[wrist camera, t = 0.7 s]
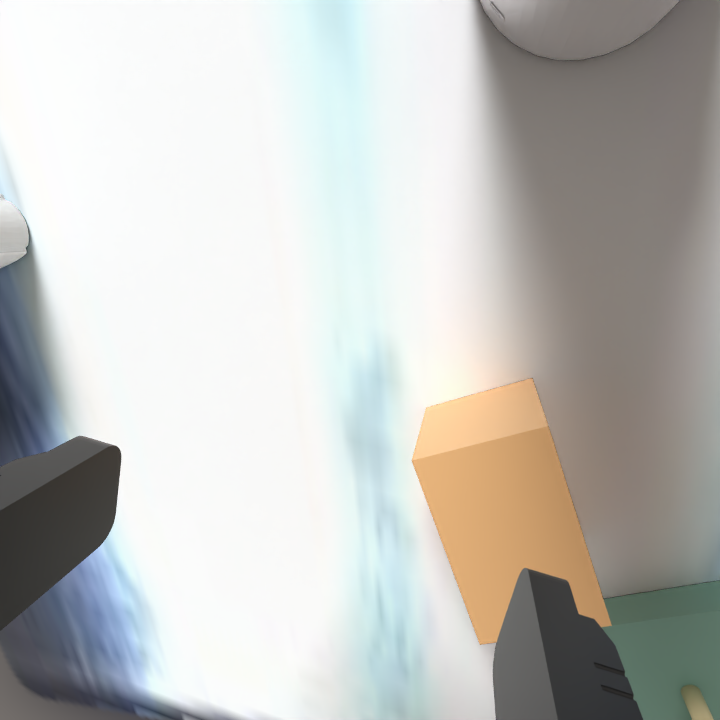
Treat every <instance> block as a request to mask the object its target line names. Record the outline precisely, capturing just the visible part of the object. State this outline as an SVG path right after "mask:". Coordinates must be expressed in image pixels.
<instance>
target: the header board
mask: <svg viewBox="0 0 720 720" xmlns="http://www.w3.org/2000/svg"><path fill="white" fill-rule="evenodd" d="M604 603H605V606H606V609H607V612H608V615H609V618H610V621H611V625H612V626H606V627H601V628H602V629H603V630H604V632H605V633H606V634H607V635H608V637H609V638H610V639H611V640H612V642H613V643H614V644H615V646H616V649H617V651H618V654H619V657H620V659H621V662H622V664H623V667H624V670H625V677H627V678H628V680H629V683H630V686H631V688H632V691H633V694H634V697H633V699H634V700H635V701H636V702H637V704H638V707H639V710H640V712H641V715H642V718H643V720H720V581H714V582H708V583H701V584H695V585H689V586H682V587H676V588H670V589H663V590H657V591H651V592H644V593H638V594H632V595H625V596H619V597H613V598H606V599H604Z"/></svg>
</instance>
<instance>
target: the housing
mask: <svg viewBox="0 0 720 720" xmlns="http://www.w3.org/2000/svg"><path fill="white" fill-rule="evenodd" d="M412 463H413V465H414V468H415V471H416V473H417V476H418V479H419V482H420V484H421V487H422V490H423V492H424V495H425V498H426V500H427V503H428V506H429V509H430V511H431V514H432V517H433V519H434V522H435V525H436V527H437V530H438V533H439V536H440V538H441V541H442V544H443V546H444V549H445V552H446V554H447V557H448V560H449V563H450V565H451V568H452V571H453V573H454V576H455V579H456V581H457V584H458V587H459V589H460V592H461V595H462V598H463V600H464V603H465V606H466V608H467V611H468V614H469V616H470V619H471V622H472V625H473V627H474V630H475V633H476V635H477V638H478V641H479V643H480V645H481V644H488V643H495V642H497V639H498V636H499V633H500V630H501V627H502V624H503V621H504V618H505V615H506V612H507V609H508V606H509V603H510V600H511V597H512V594H513V591H514V588H515V585H516V582H517V579H518V577H519V574H520V572H521V571H522V570H523V569H524V568H528V569H531V570H535V571H538V572H541V573H545V574H548V575H551V576H555V577H558V578H562V579H565V580H567V581H568V582H569V585H570V588H571V591H572V594H573V597H574V601H575V604H576V607H577V610H578V613H579V614H580V615H583V616H586V617H590V618H593V619H595V620H596V622H597V623H598V624H599V625H600V627H606V626H612V625H611V621H610V618H609V615H608V612H607V609H606V606H605V603H604V599H603V596H602V593H601V590H600V587H599V584H598V580H597V577H596V574H595V571H594V568H593V565H592V562H591V558H590V555H589V552H588V549H587V546H586V543H585V540H584V536H583V533H582V530H581V527H580V524H579V521H578V517H577V514H576V511H575V508H574V505H573V502H572V499H571V495H570V492H569V489H568V486H567V483H566V480H565V477H564V473H563V470H562V467H561V464H560V461H559V458H558V454H557V451H556V448H555V445H554V442H553V439H552V436H551V432H550V429H549V426H548V423H547V420H546V417H545V414H544V411H543V408H542V405H541V402H540V399H539V396H538V393H537V390H536V387H535V384H534V381H533V378H530V379H527V380H523V381H519V382H516V383H512V384H509V385H505V386H502V387H498V388H494V389H491V390H487V391H484V392H480V393H477V394H473V395H469V396H466V397H462V398H459V399H455V400H452V401H448V402H445V403H441V404H437V405H434V406H430V407H427V408H426V410H425V414H424V417H423V421H422V425H421V428H420V432H419V436H418V439H417V443H416V447H415V450H414V454H413V458H412Z"/></svg>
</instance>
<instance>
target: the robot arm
mask: <svg viewBox="0 0 720 720" xmlns="http://www.w3.org/2000/svg"><path fill="white" fill-rule="evenodd" d="M679 1H680V0H480V2H481V4H482V6H483V9H484V11H485V13H486V14H487V15H488V17H489V18H490V20H491V21H492V22H493V24H494V25H495V27H496V28H497V29H498V31H500V32H501V33H502V34H503V35H504V36H505V37H506V38H508V39H509V40H510V41H511V42H512V43H513V44H515V45H516V46H518V47H520V48H522V49H524V50H526V51H528V52H530V53H532V54H534V55H538V56H542V57H546V58H551V59H555V60H583V59H587V58H592V57H596V56H601V55H605V54H608V53H610V52H612V51H614V50H617V49H619V48H621V47H623V46H626V45H628V44H630V43H632V42H633V41H634V40H636V39H637V38H639V37H640V36H642V35H643V34H645V33H646V32H647V31H649V30H650V29H652V28H653V27H654V26H655V25H656V24H657V23H658V22H659V21H660V20H661V19H662V18H663V17H664V16H665V15H666V14H667V13H668V12H669V11H670V10H671V9H672V8H673V7H674V6H675V5H676V4H677V3H678V2H679ZM120 466H121V452H120V449H119V448H118V447H117V446H114V445H111V444H108V443H104V442H101V441H98V440H94V439H91V438H87V437H84V436H78V437H75V438H73V439H71V440H69V441H67V442H66V443H64V444H62V445H60V446H58V447H56V448H54V449H52V450H50V451H48V452H44V453H40V454H36V455H32V456H28V457H24V458H20V459H16V460H14V461H12V462H10V463H7V464H5V465H3V466H1V467H0V631H1V630H2V629H3V628H4V627H6V626H7V625H8V624H9V623H10V622H11V621H13V620H14V619H15V618H16V617H17V616H18V615H20V614H21V613H22V612H23V611H24V610H25V609H27V608H28V607H29V606H30V605H31V604H33V603H34V602H35V601H36V600H37V599H38V598H40V597H41V596H42V595H43V594H44V593H45V592H47V591H48V590H49V589H50V588H51V587H53V586H54V585H55V584H56V583H57V582H58V581H60V580H61V579H62V578H63V577H64V576H65V575H67V574H68V573H69V572H70V571H71V570H72V569H74V568H75V567H76V566H77V565H78V564H80V563H81V562H82V561H83V560H84V559H85V558H87V557H88V556H89V555H90V554H91V553H92V552H94V551H95V550H96V549H97V548H98V547H99V546H100V545H101V544H102V543H103V542H104V540H105V539H106V538H107V536H108V534H109V532H110V530H111V528H112V526H113V523H114V519H115V514H116V505H117V495H118V486H119V476H120ZM493 685H494V699H495V713H496V720H643V718H642V715H641V712H640V710H639V707H638V704H637V702H636V701H635V700H634V699H633V697H634V694H633V691H632V688H631V686H630V683H629V680H628V678H627V677H625V670H624V667H623V664H622V662H621V659H620V657H619V654H618V651H617V649H616V646H615V644H614V643H613V642H612V640H611V639H610V638H609V637H608V635H607V634H606V633H605V632H604V630H603V629H602V628H601V627H600V625H599V624H598V623H597V622H596V620H595V619H593V618H590V617H586V616H583V615H580V614H579V613H578V610H577V607H576V604H575V601H574V597H573V594H572V591H571V588H570V585H569V582H568V581H567V580H565V579H562V578H558V577H555V576H551V575H548V574H545V573H541V572H538V571H535V570H531V569H528V568H524V569H523V570H522V571H521V572H520V574H519V577H518V579H517V582H516V585H515V588H514V591H513V594H512V597H511V600H510V603H509V606H508V609H507V612H506V615H505V618H504V621H503V624H502V627H501V630H500V633H499V636H498V639H497V643H496V648H495V653H494V661H493Z"/></svg>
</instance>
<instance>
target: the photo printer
mask: <svg viewBox="0 0 720 720" xmlns="http://www.w3.org/2000/svg"><path fill="white" fill-rule="evenodd" d="M28 243H29V234H28V228H27V225H26V222H25V220H24V218H23V216H22V214H21V212H20V211H19V210H18V209H17V207H16V206H15V205H14V204H13V203H11V202H10V201H7V200H5V198H4V196H3V195H2V194H0V268H2V267H5V266H7V265H9V264H11V263H13V262H15V261H17V260H18V259H20V258H21V257H23V256H24V255H25V254H26V253H27V251H26V247H27V246H28Z"/></svg>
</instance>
